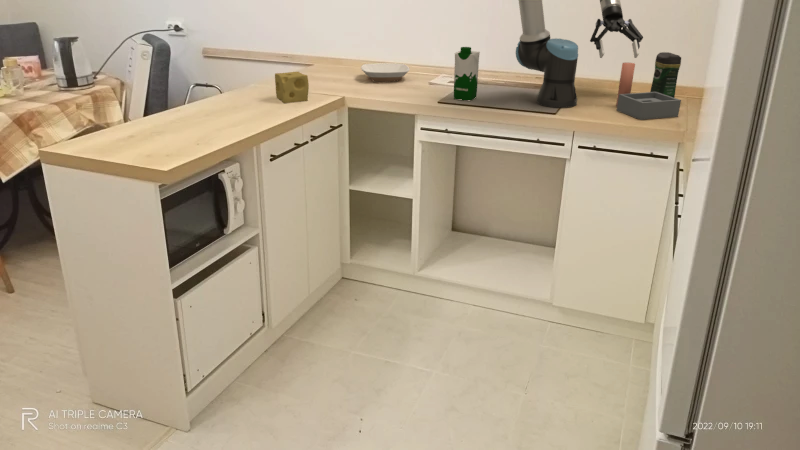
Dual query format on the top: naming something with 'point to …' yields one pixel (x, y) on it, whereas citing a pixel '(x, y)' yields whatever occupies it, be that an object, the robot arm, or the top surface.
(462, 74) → the milk carton
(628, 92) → the peg
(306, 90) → the cheese
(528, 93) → the top surface
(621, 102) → the box
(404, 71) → the bowl
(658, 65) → the coffee jar
